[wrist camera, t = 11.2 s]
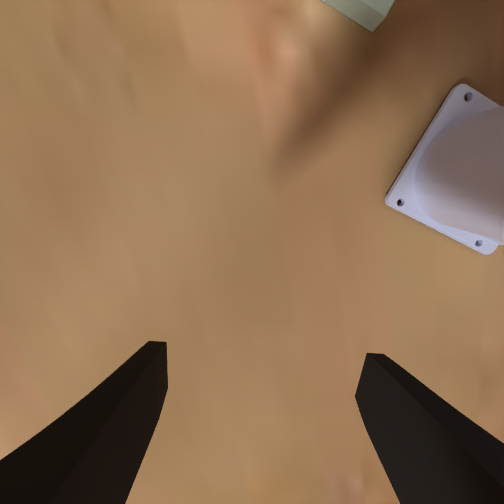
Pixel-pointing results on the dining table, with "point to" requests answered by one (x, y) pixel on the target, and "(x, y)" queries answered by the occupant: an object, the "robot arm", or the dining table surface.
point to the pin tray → (363, 11)
